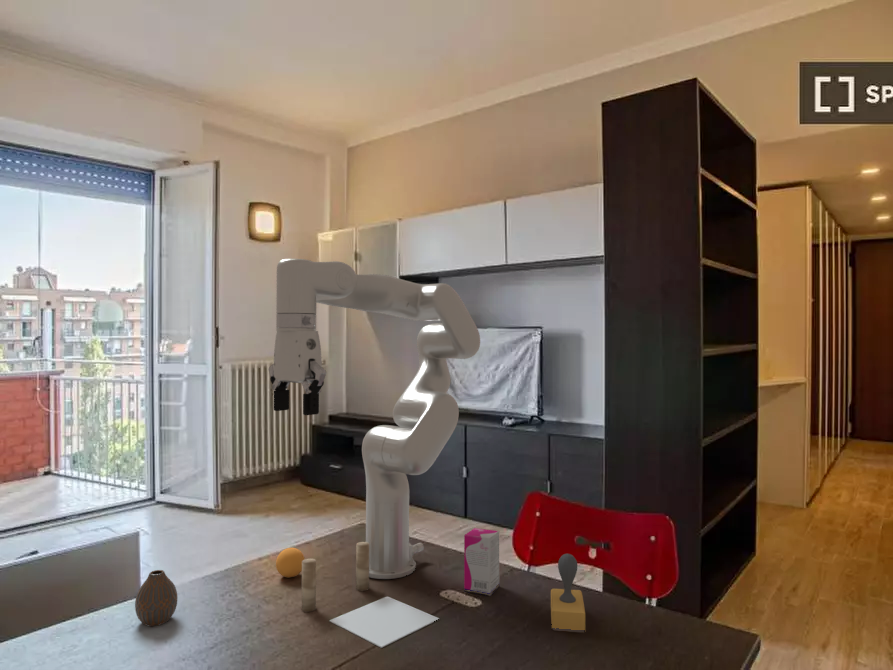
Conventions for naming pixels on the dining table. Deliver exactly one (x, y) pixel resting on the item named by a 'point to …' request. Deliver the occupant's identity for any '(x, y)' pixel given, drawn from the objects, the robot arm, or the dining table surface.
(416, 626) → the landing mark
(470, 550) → the supplement box
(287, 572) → the ball
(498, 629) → the dining table surface
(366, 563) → the post
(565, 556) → the rubber stamp
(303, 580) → the post
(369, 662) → the dining table surface
